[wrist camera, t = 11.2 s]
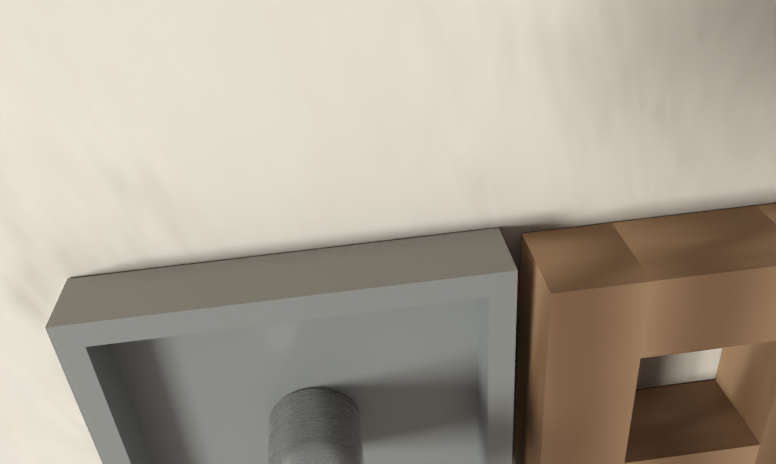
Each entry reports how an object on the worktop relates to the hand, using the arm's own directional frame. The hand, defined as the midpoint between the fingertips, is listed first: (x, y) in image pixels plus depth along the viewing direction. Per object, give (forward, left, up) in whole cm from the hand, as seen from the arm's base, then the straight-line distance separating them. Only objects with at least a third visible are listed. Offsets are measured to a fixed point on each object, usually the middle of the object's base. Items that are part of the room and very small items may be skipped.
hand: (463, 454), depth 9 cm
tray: (+3, +11, -12) cm, 17 cm away
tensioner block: (-9, +10, -12) cm, 18 cm away
